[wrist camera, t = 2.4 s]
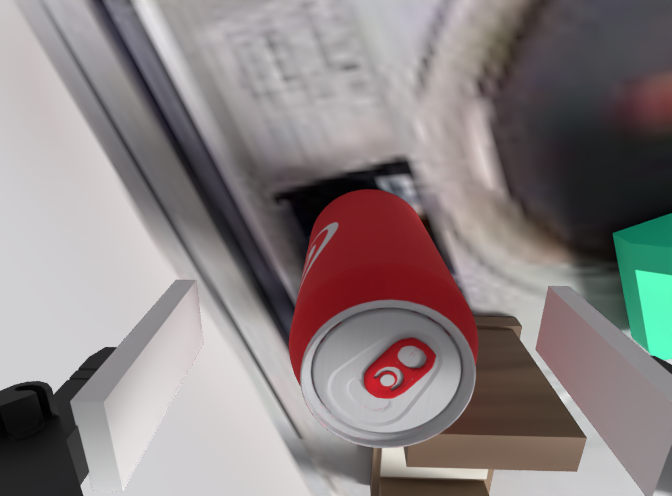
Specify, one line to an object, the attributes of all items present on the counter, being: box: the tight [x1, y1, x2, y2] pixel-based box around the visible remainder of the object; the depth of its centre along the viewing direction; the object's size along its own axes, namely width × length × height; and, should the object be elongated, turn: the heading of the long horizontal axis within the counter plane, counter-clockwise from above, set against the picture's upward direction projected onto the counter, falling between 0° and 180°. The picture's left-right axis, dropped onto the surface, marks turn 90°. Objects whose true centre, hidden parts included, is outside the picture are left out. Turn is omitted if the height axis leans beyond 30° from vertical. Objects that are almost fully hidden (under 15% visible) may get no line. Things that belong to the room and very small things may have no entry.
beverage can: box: [289, 189, 478, 448], centre depth 18 cm, size 6×6×12 cm
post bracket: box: [370, 316, 587, 496], centre depth 24 cm, size 14×8×9 cm, turn 179°
